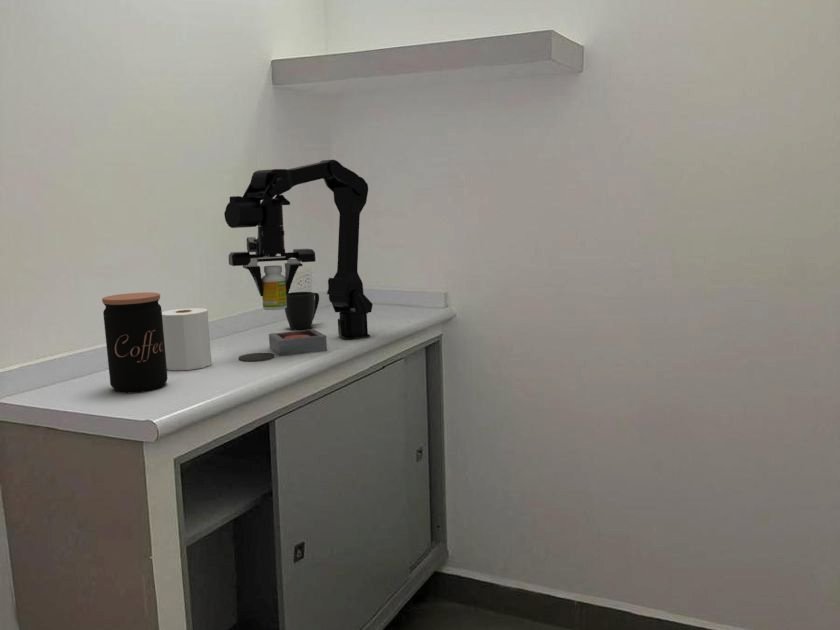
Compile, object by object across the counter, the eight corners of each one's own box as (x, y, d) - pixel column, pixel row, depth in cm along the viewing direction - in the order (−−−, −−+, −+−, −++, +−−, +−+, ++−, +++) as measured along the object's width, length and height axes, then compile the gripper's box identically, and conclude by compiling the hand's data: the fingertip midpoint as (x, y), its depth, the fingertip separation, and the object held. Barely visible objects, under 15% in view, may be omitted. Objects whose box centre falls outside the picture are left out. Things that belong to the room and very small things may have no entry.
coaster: (270, 352, 192) (270, 351, 192) (278, 359, 185) (278, 357, 185) (235, 356, 189) (235, 355, 189) (242, 363, 182) (241, 361, 182)
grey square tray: (314, 343, 202) (313, 329, 202) (326, 350, 192) (326, 335, 192) (269, 348, 198) (268, 333, 198) (279, 356, 188) (278, 340, 188)
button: (307, 344, 199) (306, 333, 199) (313, 348, 193) (312, 337, 193) (282, 346, 197) (281, 336, 196) (288, 351, 191) (287, 340, 191)
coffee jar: (112, 396, 156) (103, 301, 153) (109, 385, 166) (100, 295, 163) (171, 389, 160) (163, 296, 158) (164, 378, 170) (156, 291, 167)
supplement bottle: (282, 310, 186) (279, 267, 185) (259, 310, 188) (256, 267, 186) (290, 307, 192) (288, 265, 190) (268, 307, 193) (266, 265, 191)
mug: (331, 324, 229) (329, 290, 228) (302, 332, 219) (300, 296, 218) (308, 323, 234) (306, 289, 232) (279, 330, 224) (276, 295, 223)
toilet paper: (176, 361, 188) (171, 308, 186) (219, 360, 186) (215, 307, 184) (155, 371, 178) (149, 315, 176) (200, 370, 176) (195, 314, 174)
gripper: (302, 224, 198) (305, 289, 200) (222, 227, 191) (226, 294, 193) (314, 224, 188) (317, 293, 190) (230, 228, 181) (235, 299, 183)
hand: (274, 295), depth 189 cm, fingers closed on supplement bottle, 5 cm apart
